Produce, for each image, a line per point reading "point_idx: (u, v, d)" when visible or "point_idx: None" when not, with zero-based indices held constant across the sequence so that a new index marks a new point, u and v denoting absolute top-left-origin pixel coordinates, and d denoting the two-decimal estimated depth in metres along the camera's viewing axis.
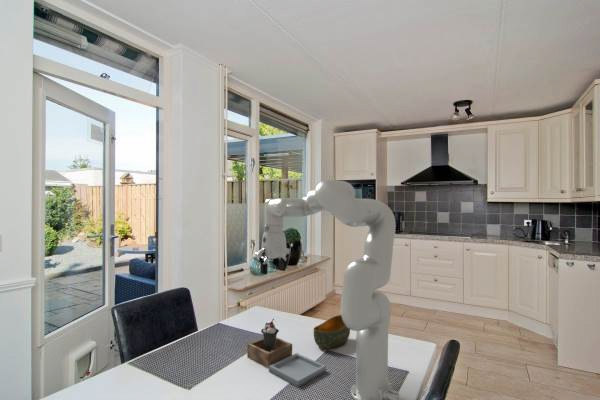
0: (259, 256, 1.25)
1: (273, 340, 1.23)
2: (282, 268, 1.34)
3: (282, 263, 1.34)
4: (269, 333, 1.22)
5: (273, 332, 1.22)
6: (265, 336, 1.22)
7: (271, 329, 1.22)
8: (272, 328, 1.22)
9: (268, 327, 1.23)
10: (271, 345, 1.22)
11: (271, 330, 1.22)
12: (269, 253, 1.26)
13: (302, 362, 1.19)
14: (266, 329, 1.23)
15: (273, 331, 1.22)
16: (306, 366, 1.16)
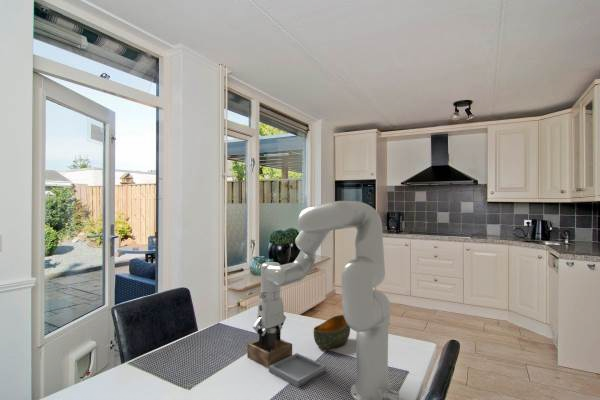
0: (257, 328, 1.19)
1: (273, 340, 1.23)
2: (277, 337, 1.26)
3: None
4: (269, 333, 1.22)
5: (273, 332, 1.22)
6: None
7: (271, 329, 1.22)
8: (272, 328, 1.22)
9: None
10: (271, 345, 1.22)
11: (271, 330, 1.22)
12: (265, 323, 1.19)
13: (302, 362, 1.19)
14: (266, 329, 1.23)
15: (273, 331, 1.22)
16: (306, 366, 1.16)
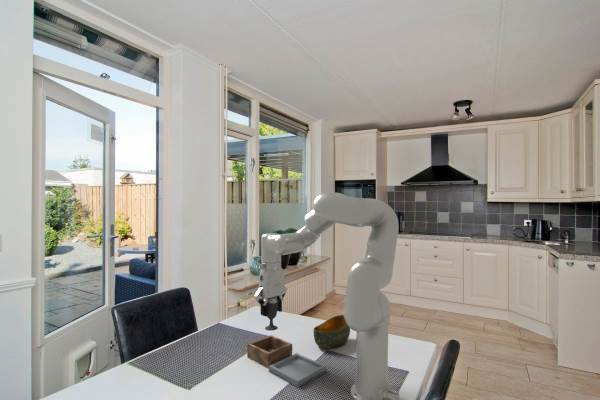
0: (258, 298, 1.19)
1: (274, 310, 1.22)
2: (278, 309, 1.26)
3: None
4: (270, 303, 1.22)
5: (274, 302, 1.22)
6: None
7: (272, 299, 1.22)
8: (273, 298, 1.22)
9: (269, 298, 1.23)
10: (273, 315, 1.22)
11: (272, 300, 1.22)
12: (267, 292, 1.19)
13: (302, 362, 1.19)
14: (267, 300, 1.23)
15: (274, 301, 1.22)
16: (306, 366, 1.16)
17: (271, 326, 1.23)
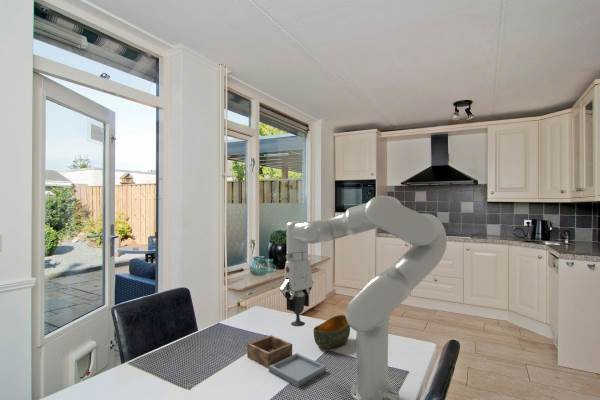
0: (285, 291, 1.09)
1: (302, 305, 1.12)
2: (305, 303, 1.16)
3: None
4: (297, 297, 1.12)
5: (302, 296, 1.12)
6: None
7: (299, 292, 1.12)
8: (300, 291, 1.12)
9: (296, 291, 1.13)
10: (300, 310, 1.12)
11: (299, 293, 1.12)
12: (294, 285, 1.09)
13: (302, 362, 1.19)
14: (294, 293, 1.13)
15: (302, 294, 1.12)
16: (306, 366, 1.16)
17: (298, 322, 1.13)
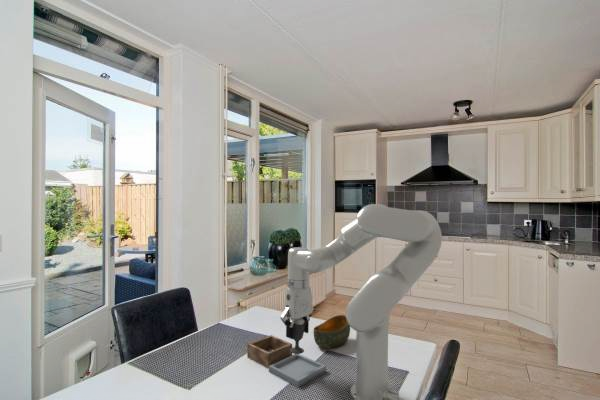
0: (285, 319, 1.09)
1: (301, 332, 1.12)
2: (305, 330, 1.16)
3: (305, 324, 1.16)
4: (297, 324, 1.11)
5: (301, 323, 1.12)
6: None
7: (299, 320, 1.12)
8: (300, 319, 1.12)
9: None
10: (299, 337, 1.12)
11: (299, 321, 1.11)
12: (294, 313, 1.09)
13: (302, 362, 1.19)
14: None
15: (301, 322, 1.12)
16: (306, 366, 1.16)
17: (297, 349, 1.13)
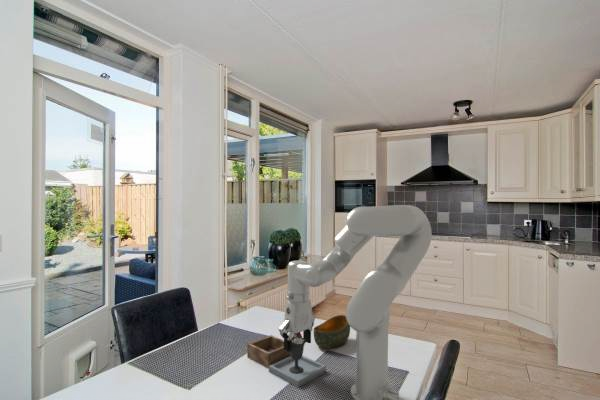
0: (283, 331, 1.08)
1: (300, 351, 1.11)
2: (307, 340, 1.16)
3: (307, 334, 1.16)
4: (296, 344, 1.10)
5: (301, 343, 1.11)
6: (292, 347, 1.11)
7: (298, 339, 1.11)
8: (299, 338, 1.11)
9: (295, 337, 1.12)
10: (298, 357, 1.11)
11: (298, 340, 1.11)
12: (294, 327, 1.09)
13: (302, 362, 1.19)
14: (293, 339, 1.12)
15: (301, 342, 1.11)
16: (306, 366, 1.16)
17: (296, 368, 1.12)
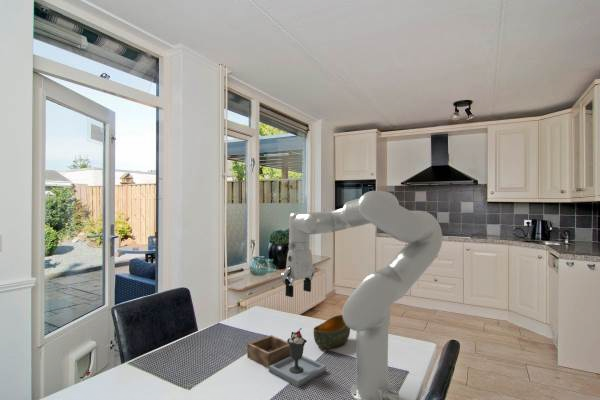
0: (285, 277, 1.12)
1: (301, 351, 1.11)
2: (307, 289, 1.21)
3: (307, 283, 1.21)
4: (296, 344, 1.10)
5: (301, 343, 1.11)
6: (292, 347, 1.11)
7: (298, 339, 1.11)
8: (299, 338, 1.11)
9: (295, 337, 1.12)
10: (298, 357, 1.11)
11: (298, 340, 1.11)
12: (296, 273, 1.14)
13: (302, 362, 1.19)
14: (293, 339, 1.12)
15: (301, 342, 1.11)
16: (306, 366, 1.16)
17: (296, 368, 1.12)
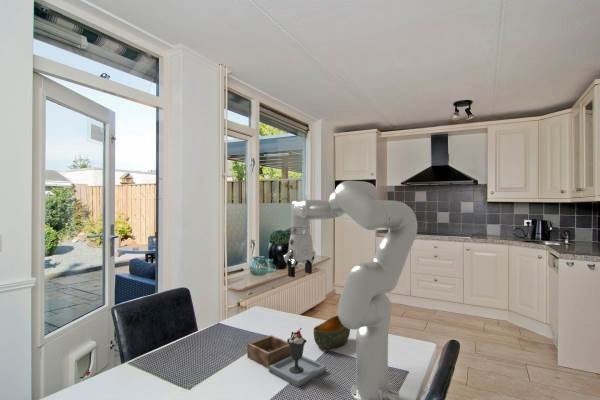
0: (287, 258, 1.23)
1: (300, 351, 1.11)
2: (308, 271, 1.32)
3: (308, 266, 1.32)
4: (296, 344, 1.10)
5: (301, 343, 1.11)
6: (292, 347, 1.11)
7: (298, 339, 1.11)
8: (299, 338, 1.11)
9: (295, 337, 1.12)
10: (298, 357, 1.11)
11: (298, 340, 1.11)
12: (297, 256, 1.24)
13: (302, 362, 1.19)
14: (293, 339, 1.12)
15: (301, 341, 1.11)
16: (306, 366, 1.16)
17: (296, 368, 1.12)
